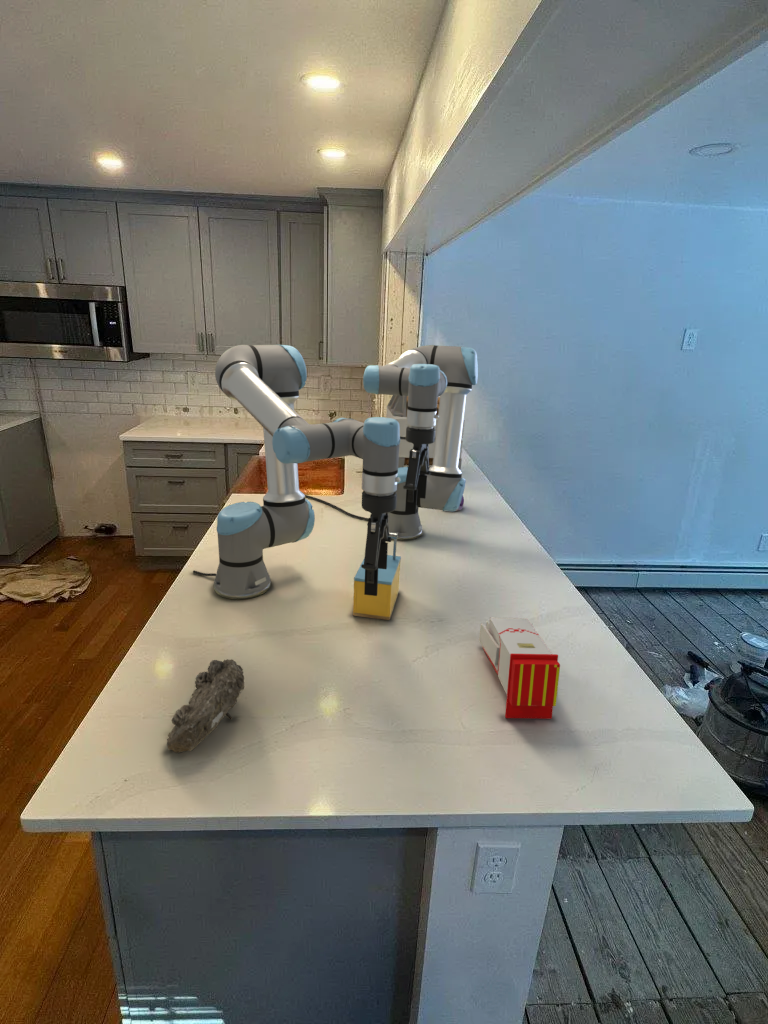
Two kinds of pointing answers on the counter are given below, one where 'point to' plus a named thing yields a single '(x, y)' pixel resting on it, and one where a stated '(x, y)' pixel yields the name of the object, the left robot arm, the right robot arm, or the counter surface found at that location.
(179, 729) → the fossil
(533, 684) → the toy
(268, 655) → the counter surface
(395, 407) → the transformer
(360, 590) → the chest
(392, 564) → the lid
